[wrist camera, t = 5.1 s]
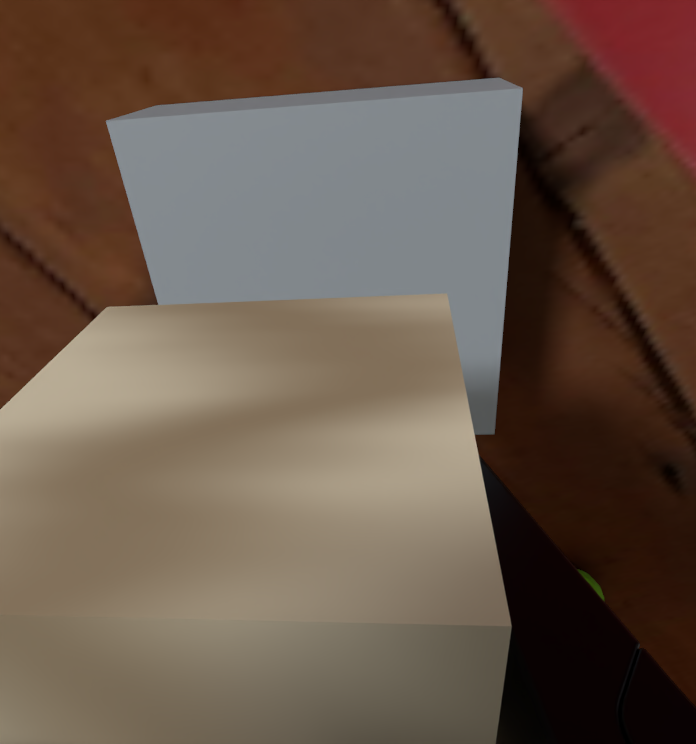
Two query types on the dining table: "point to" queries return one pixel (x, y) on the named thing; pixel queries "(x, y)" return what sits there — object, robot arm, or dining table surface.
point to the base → (335, 203)
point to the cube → (250, 532)
